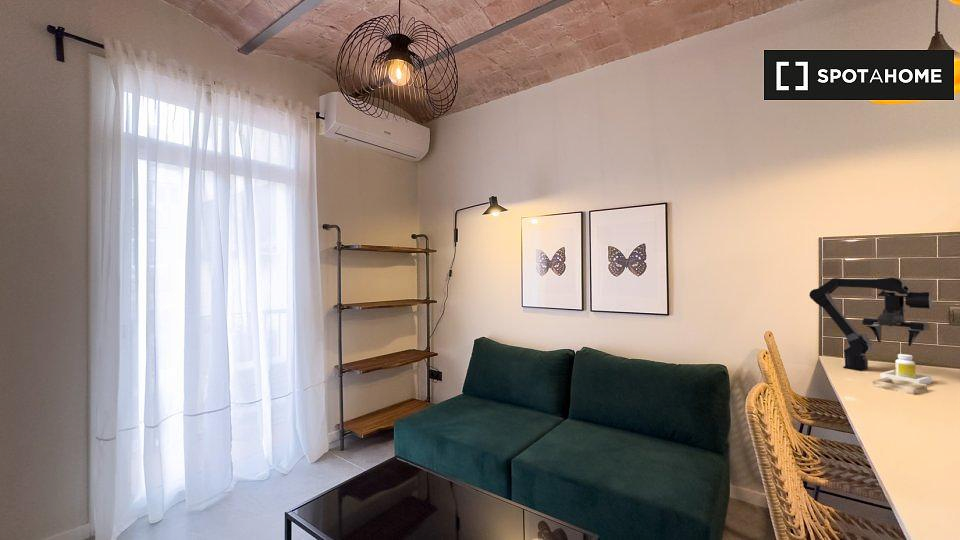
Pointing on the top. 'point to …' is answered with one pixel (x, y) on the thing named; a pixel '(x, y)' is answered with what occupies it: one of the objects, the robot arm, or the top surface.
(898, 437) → the top surface
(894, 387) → the wooden square frame
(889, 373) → the plastic tray
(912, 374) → the supplement bottle
